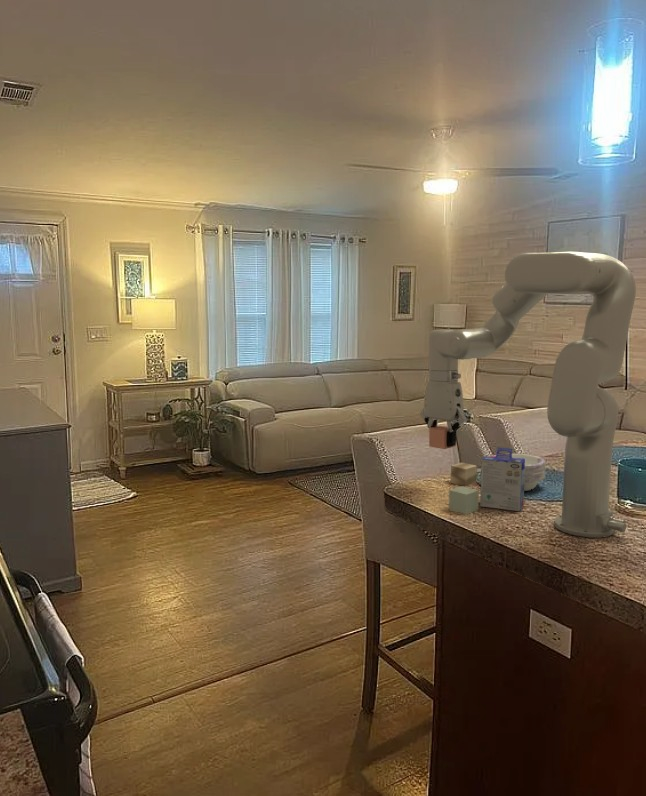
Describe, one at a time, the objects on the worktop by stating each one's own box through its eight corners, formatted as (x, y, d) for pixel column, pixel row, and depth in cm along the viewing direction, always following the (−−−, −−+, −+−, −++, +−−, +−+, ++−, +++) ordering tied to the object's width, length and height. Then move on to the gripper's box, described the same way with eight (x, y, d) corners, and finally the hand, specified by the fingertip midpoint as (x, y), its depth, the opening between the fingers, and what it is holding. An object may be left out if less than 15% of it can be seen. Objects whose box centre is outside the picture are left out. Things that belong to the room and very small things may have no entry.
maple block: (476, 483, 177) (476, 465, 176) (465, 486, 174) (465, 469, 173) (461, 479, 181) (462, 462, 180) (450, 482, 178) (451, 465, 177)
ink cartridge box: (524, 505, 157) (526, 448, 155) (521, 512, 152) (523, 453, 150) (484, 500, 161) (485, 445, 159) (479, 507, 156) (481, 449, 154)
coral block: (455, 446, 169) (456, 427, 168) (444, 449, 165) (444, 430, 165) (441, 443, 172) (441, 425, 172) (429, 446, 169) (429, 428, 168)
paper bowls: (492, 476, 183) (493, 450, 182) (547, 482, 176) (548, 455, 175) (481, 491, 169) (482, 462, 168) (540, 498, 163) (542, 468, 162)
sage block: (478, 510, 154) (478, 490, 154) (465, 514, 151) (466, 494, 150) (461, 505, 158) (461, 486, 157) (448, 509, 155) (449, 490, 154)
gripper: (478, 377, 162) (477, 447, 165) (427, 373, 175) (426, 437, 178) (461, 380, 157) (460, 451, 160) (409, 375, 170) (409, 441, 173)
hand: (442, 443), depth 169 cm, fingers closed on coral block, 4 cm apart
